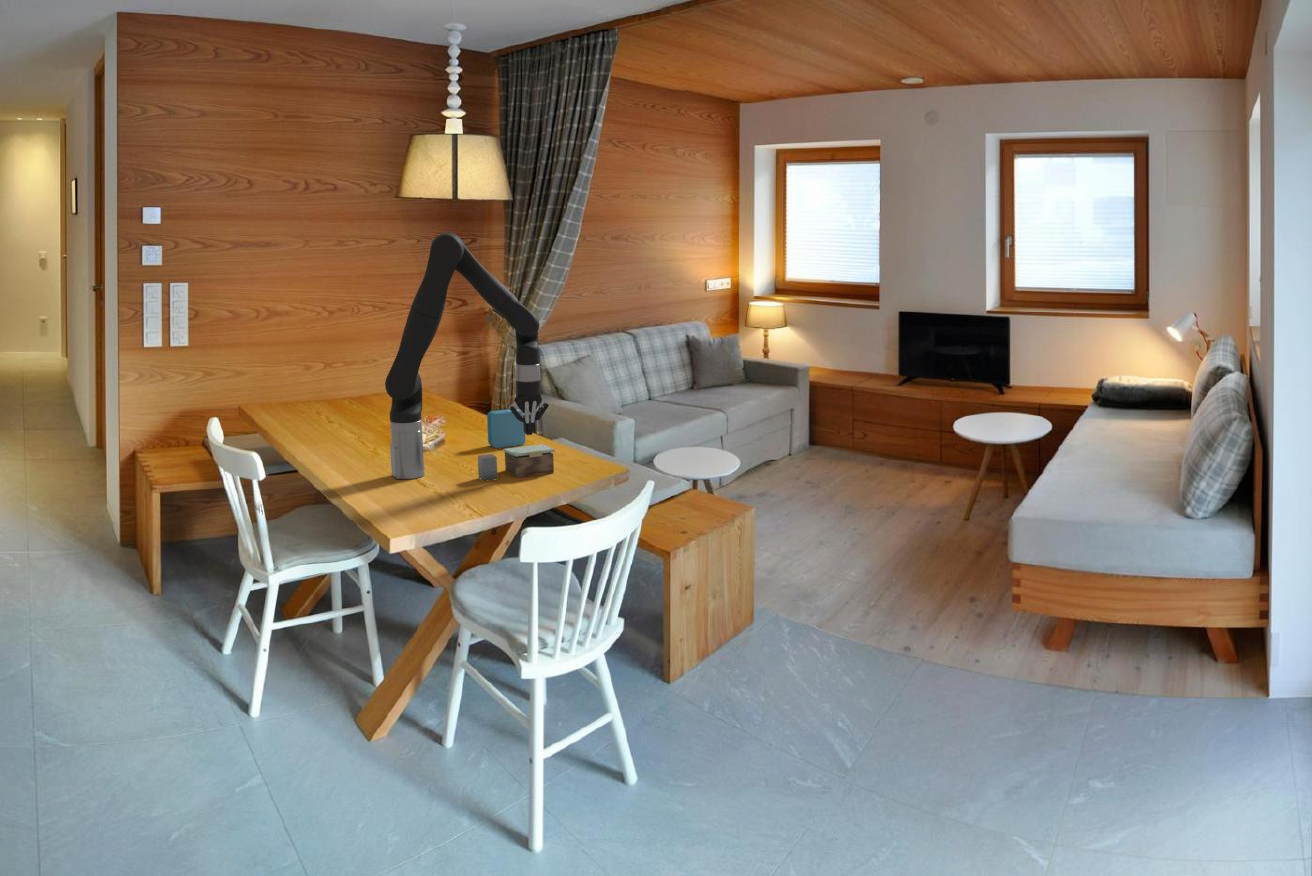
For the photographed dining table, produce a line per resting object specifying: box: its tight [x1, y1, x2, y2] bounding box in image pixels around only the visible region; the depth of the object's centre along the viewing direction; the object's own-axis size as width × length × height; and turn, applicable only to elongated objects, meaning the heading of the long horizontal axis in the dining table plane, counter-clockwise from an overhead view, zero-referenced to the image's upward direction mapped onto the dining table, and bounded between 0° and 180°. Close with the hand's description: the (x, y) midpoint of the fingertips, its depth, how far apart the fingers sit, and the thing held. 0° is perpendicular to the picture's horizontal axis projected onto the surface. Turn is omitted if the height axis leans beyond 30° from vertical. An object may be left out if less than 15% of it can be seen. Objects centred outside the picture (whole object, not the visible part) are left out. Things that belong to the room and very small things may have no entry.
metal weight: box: [477, 453, 498, 482], centre depth 314 cm, size 4×4×7 cm
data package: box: [486, 408, 527, 449], centre depth 357 cm, size 12×4×12 cm, turn 117°
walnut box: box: [504, 452, 555, 479], centre depth 323 cm, size 12×10×6 cm
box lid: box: [502, 443, 556, 457], centre depth 321 cm, size 13×11×2 cm
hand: (528, 434), depth 320 cm, fingers closed
